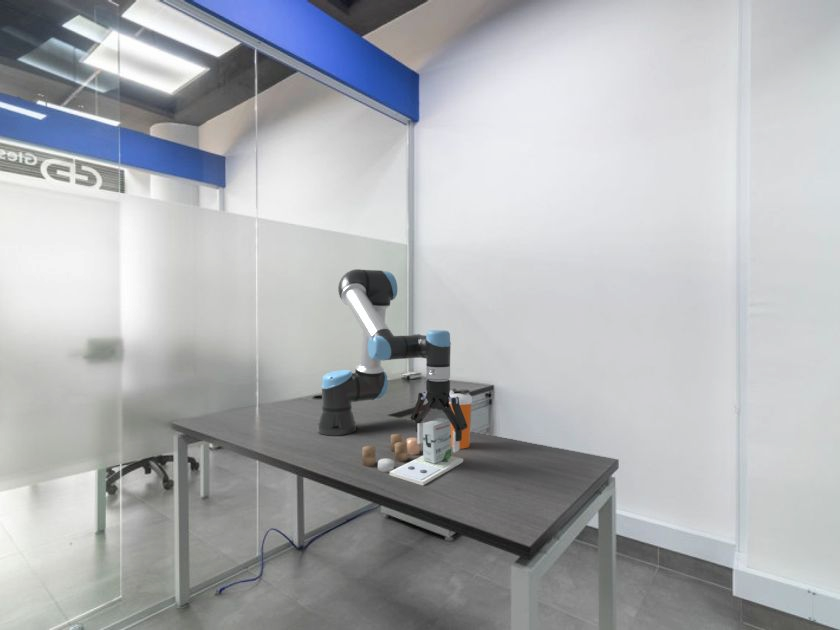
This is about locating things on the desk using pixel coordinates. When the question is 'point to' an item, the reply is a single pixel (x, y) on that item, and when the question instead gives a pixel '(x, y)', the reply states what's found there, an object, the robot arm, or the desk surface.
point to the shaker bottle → (465, 405)
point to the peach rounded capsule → (413, 446)
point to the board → (424, 469)
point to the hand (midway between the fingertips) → (437, 446)
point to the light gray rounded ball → (385, 465)
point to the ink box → (436, 440)
